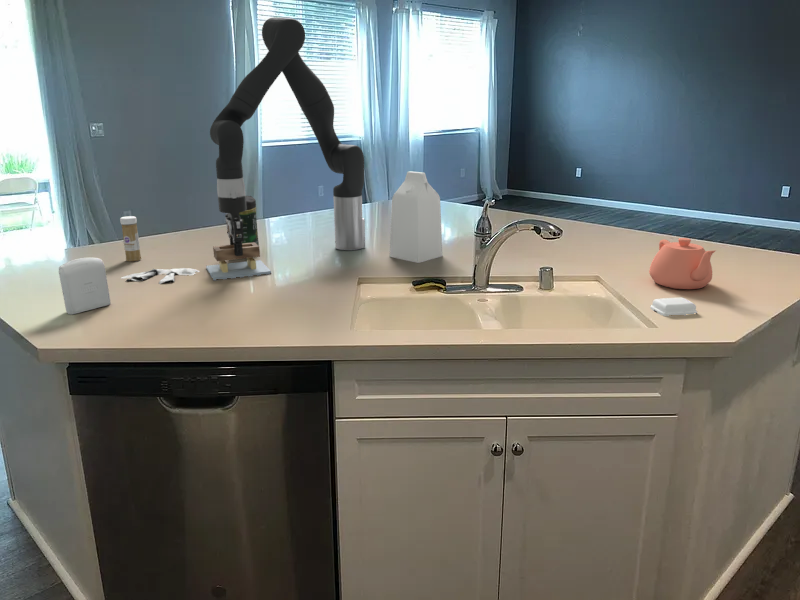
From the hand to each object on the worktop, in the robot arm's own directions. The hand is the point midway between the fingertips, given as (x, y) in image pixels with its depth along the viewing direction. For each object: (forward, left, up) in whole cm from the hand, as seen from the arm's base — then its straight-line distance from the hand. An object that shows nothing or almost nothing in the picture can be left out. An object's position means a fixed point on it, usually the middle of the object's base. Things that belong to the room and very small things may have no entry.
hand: (236, 252), depth 184 cm
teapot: (-104, +64, -6) cm, 122 cm away
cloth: (+22, -3, -6) cm, 23 cm away
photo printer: (+39, +19, -6) cm, 44 cm away
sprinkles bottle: (+27, -27, -6) cm, 39 cm away
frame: (0, 0, -1) cm, 1 cm away
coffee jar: (-6, -19, -6) cm, 21 cm away
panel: (0, 0, -5) cm, 5 cm away
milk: (-54, +6, -6) cm, 55 cm away
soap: (-86, +79, -6) cm, 117 cm away
